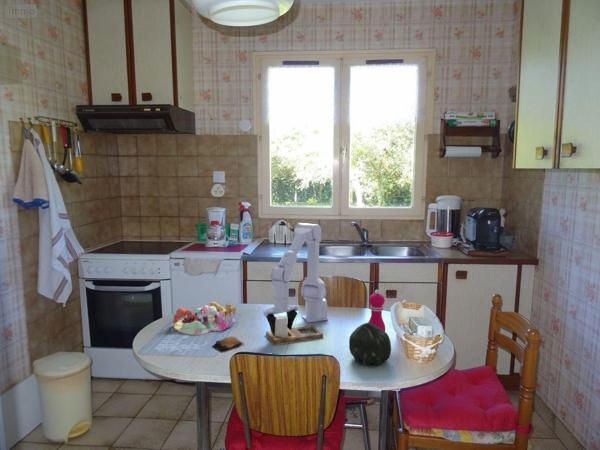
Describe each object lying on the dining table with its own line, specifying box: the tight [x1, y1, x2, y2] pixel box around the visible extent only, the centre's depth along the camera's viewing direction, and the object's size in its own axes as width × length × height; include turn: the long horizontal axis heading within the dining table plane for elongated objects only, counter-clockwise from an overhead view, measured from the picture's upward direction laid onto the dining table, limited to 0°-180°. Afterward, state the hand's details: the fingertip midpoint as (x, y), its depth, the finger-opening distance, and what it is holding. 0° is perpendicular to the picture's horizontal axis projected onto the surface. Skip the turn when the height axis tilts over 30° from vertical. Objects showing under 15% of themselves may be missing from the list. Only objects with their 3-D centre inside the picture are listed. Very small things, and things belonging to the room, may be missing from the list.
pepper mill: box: [367, 289, 386, 332], centre depth 169 cm, size 7×7×20 cm
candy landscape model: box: [172, 301, 237, 336], centre depth 185 cm, size 25×24×9 cm
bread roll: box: [211, 335, 245, 353], centre depth 164 cm, size 11×9×4 cm
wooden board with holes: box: [265, 324, 324, 346], centre depth 173 cm, size 20×10×2 cm, turn 111°
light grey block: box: [275, 315, 288, 338], centre depth 170 cm, size 5×5×7 cm
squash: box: [348, 322, 392, 366], centre depth 150 cm, size 14×15×15 cm
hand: (281, 330), depth 170 cm, fingers closed on light grey block, 7 cm apart
